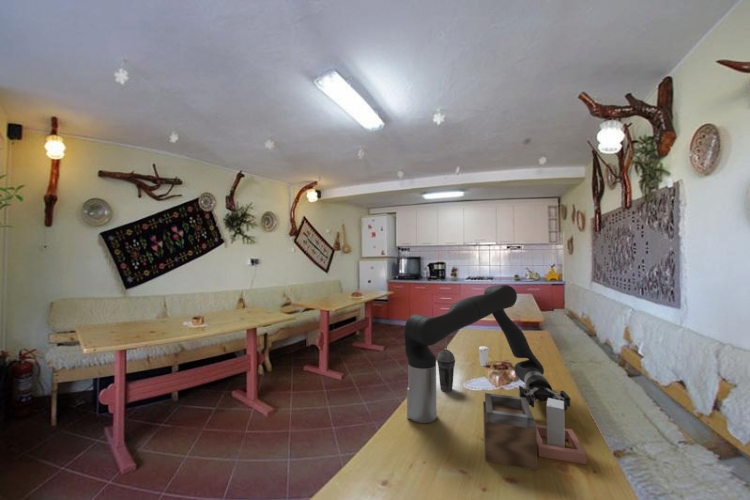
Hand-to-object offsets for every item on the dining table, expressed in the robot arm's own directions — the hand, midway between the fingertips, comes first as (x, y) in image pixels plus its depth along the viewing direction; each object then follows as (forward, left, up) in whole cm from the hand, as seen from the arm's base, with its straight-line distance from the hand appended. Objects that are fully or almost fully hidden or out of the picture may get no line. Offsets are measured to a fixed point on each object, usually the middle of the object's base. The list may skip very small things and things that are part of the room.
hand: (548, 406), depth 94 cm
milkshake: (-16, +56, -8) cm, 59 cm away
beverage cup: (-32, +22, -8) cm, 40 cm away
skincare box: (0, -8, -8) cm, 11 cm away
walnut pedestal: (-13, -14, -8) cm, 21 cm away
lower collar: (0, -8, -8) cm, 11 cm away
